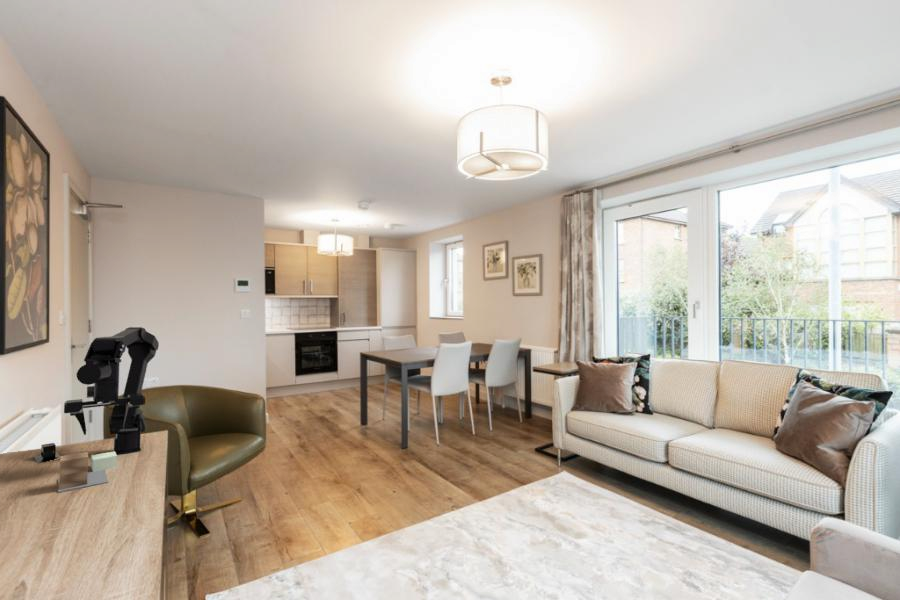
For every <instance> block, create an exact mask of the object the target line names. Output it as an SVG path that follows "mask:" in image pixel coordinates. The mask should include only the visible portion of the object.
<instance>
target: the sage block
mask: <svg viewBox="0 0 900 600" xmlns="http://www.w3.org/2000/svg"><path fill="white" fill-rule="evenodd" d="M117 467H118V454H116V452H115V451H114V450H113V451H109V452H108V451H107V452H103V453H97V454H91V458H90V468H91V470H92V471H91V472H94V471H100V470H105V471H106V470H109V469H115V468H117Z"/></svg>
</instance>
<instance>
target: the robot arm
mask: <svg viewBox="0 0 900 600" xmlns="http://www.w3.org/2000/svg"><path fill="white" fill-rule="evenodd" d="M159 347H160V346H159V341H158V339H157V338H156V336H155V335H154V334H151V332H148V331H147V330H146V329H145V328H144V327H142V326H141V327H140V326H139V327H138V326H137V327H134V326H133V327H131V326H130V327H127V328H125V329H124V330H122V331H120V332H119V333H116V334H114V335H112V336H101V337H95V338H94V339H93V340H92V342H91V343H90V345H89V347H88V349H87V353H86V355H85V356H84V360H83V362H85V364H84V365H82V366H80V367H79V369H78V370H77V372H76V378H77V380H78V381H79V383H81V384H83V385H87V387H86V398H88V399H90V398H92V400H90V401H89V400H88V401H83V399H82V398H81V399H80V398H79V399H70V400H69V399H68V400H66V401H65V402H64V404H63V405H64V406H63V407H64V408H63V413H64V414H69V415H70V417H71V416H72V417H73V416H75V418H76V420H77V421H78V424H79V425H80V428H81V430H82V432H83V435H84V436H86V435H87V428H86V426H87V425H86V418H85V412H84V409H88V408H97V407H98V408H100V407H106V406H107V407H108V406H113V408H112V412H111V414H110V416H109V419H108V426H109V433H110V435H115V437H114V438H113V452H114V451H115V453H116V455H123V454H128V453H134V452H139V451H142V448H141V434H142V432H146V430H147V421H146V419H145V417H144V415H143V409H142V407H141V406H143V405H146V396H145V395H144V394H143V393H142V391H143V390H142V389H143V385H144V382H145V377H146V372H147V368H148V363H149V362H151V361H152V359H153V358H154V357H155V356H156V353H157V351H158V350H159ZM126 349H127V353H128V356H129V357H130V358H129V359H130V360H131V361H130V364H129V370H128V374H127V379H126V383H125V386H124V391H123V394H122V395H123V396H122V397H119V387H120V363H122V359H121V358H122V357H123V354H124V353H125V352H126ZM93 384H94V385H93ZM88 385H89V386H88ZM91 385H92V386H91Z"/></svg>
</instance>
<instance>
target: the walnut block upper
mask: <svg viewBox="0 0 900 600" xmlns="http://www.w3.org/2000/svg"><path fill="white" fill-rule="evenodd" d="M83 471H88V472H89V453H88V451H86V452H79V453H72V454H65V455H60V459H59V477H60V476H61V475H66V474H72V473H77V472H83Z"/></svg>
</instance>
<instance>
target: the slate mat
mask: <svg viewBox="0 0 900 600" xmlns="http://www.w3.org/2000/svg"><path fill="white" fill-rule="evenodd" d="M59 480H60V477H58V479H57V493H59V494H60V493H64V492H67V491H74V490H78V489H84V488H89V487H94V486H99V485H103V484H108V483H109V480H108V476H107V473H106V469H105V470H100V471H94V472H93V471H90V472H89V471H88V478H87V484H86V485H81V486H76V487H71V488H66V489H61V490H59Z"/></svg>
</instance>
